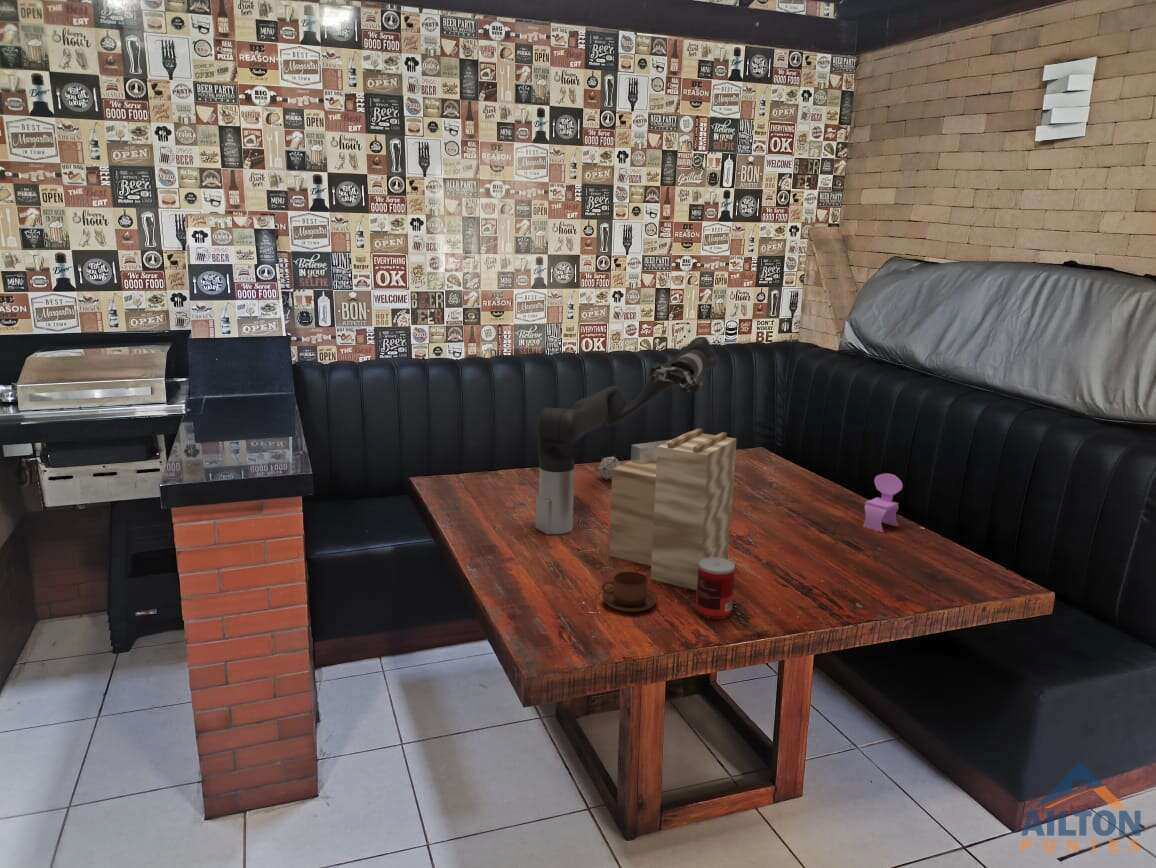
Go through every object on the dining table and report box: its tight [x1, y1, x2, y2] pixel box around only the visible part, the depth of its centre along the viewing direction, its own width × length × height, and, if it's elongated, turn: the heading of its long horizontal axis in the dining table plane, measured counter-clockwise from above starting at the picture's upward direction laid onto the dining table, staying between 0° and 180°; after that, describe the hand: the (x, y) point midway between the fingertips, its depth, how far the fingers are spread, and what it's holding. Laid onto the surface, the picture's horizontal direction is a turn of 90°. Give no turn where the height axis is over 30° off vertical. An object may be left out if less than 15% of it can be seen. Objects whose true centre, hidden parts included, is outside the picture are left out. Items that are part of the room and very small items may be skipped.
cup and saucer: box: [601, 571, 658, 613], centre depth 184 cm, size 12×12×6 cm
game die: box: [594, 454, 623, 482], centre depth 274 cm, size 9×8×10 cm
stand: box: [608, 428, 737, 591], centre depth 207 cm, size 30×27×33 cm
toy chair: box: [862, 473, 903, 534], centre depth 236 cm, size 8×9×15 cm
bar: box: [630, 438, 674, 464], centre depth 218 cm, size 24×4×4 cm, turn 121°
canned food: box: [695, 557, 736, 618], centre depth 181 cm, size 8×8×11 cm
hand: (667, 384), depth 227 cm, fingers open, 8 cm apart
